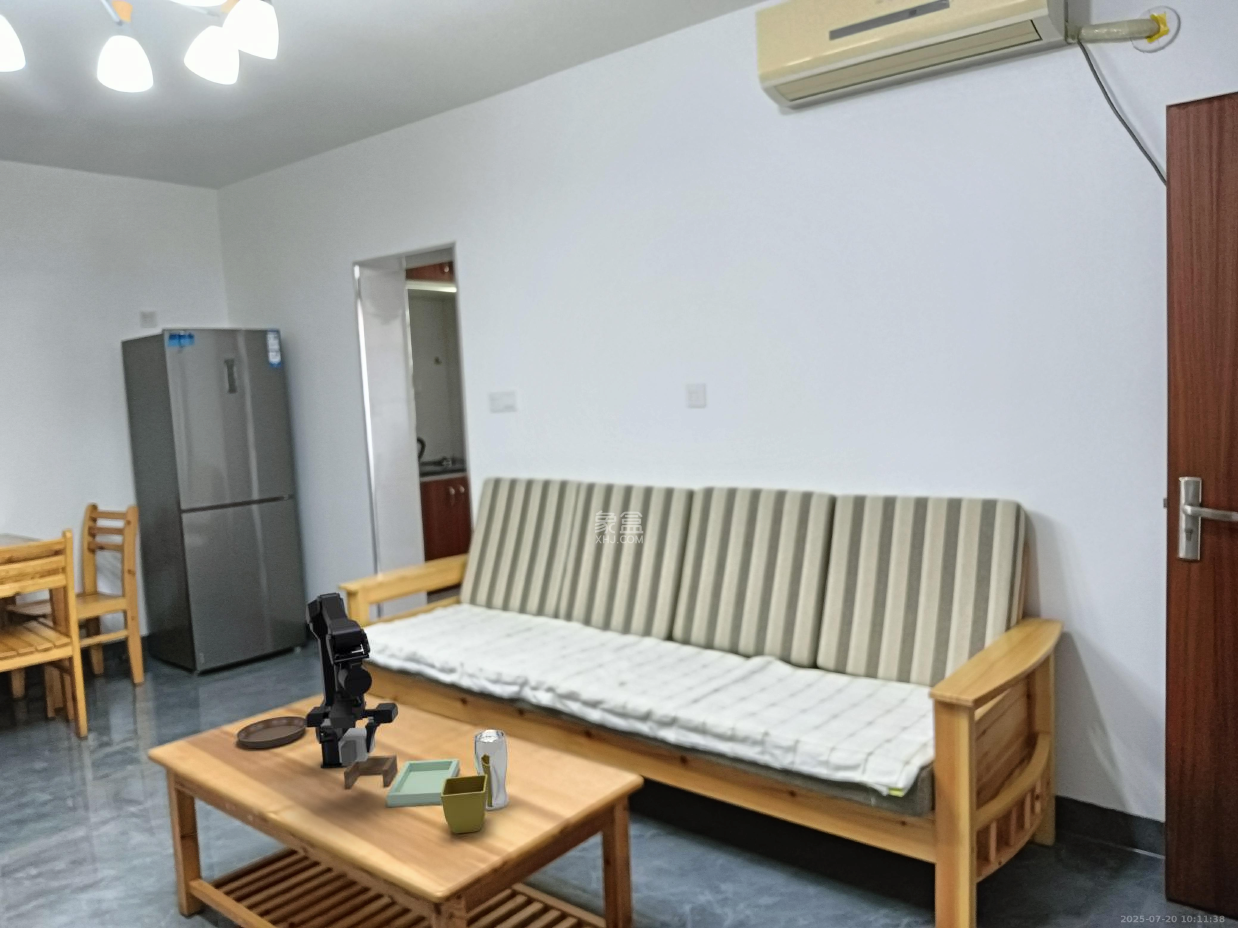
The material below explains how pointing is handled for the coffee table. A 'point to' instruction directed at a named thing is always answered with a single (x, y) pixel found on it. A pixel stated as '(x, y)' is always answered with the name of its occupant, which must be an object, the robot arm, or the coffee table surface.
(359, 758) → the grey stepped block
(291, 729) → the plant saucer
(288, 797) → the coffee table surface
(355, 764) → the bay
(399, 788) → the tray
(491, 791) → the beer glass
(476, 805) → the flower pot
